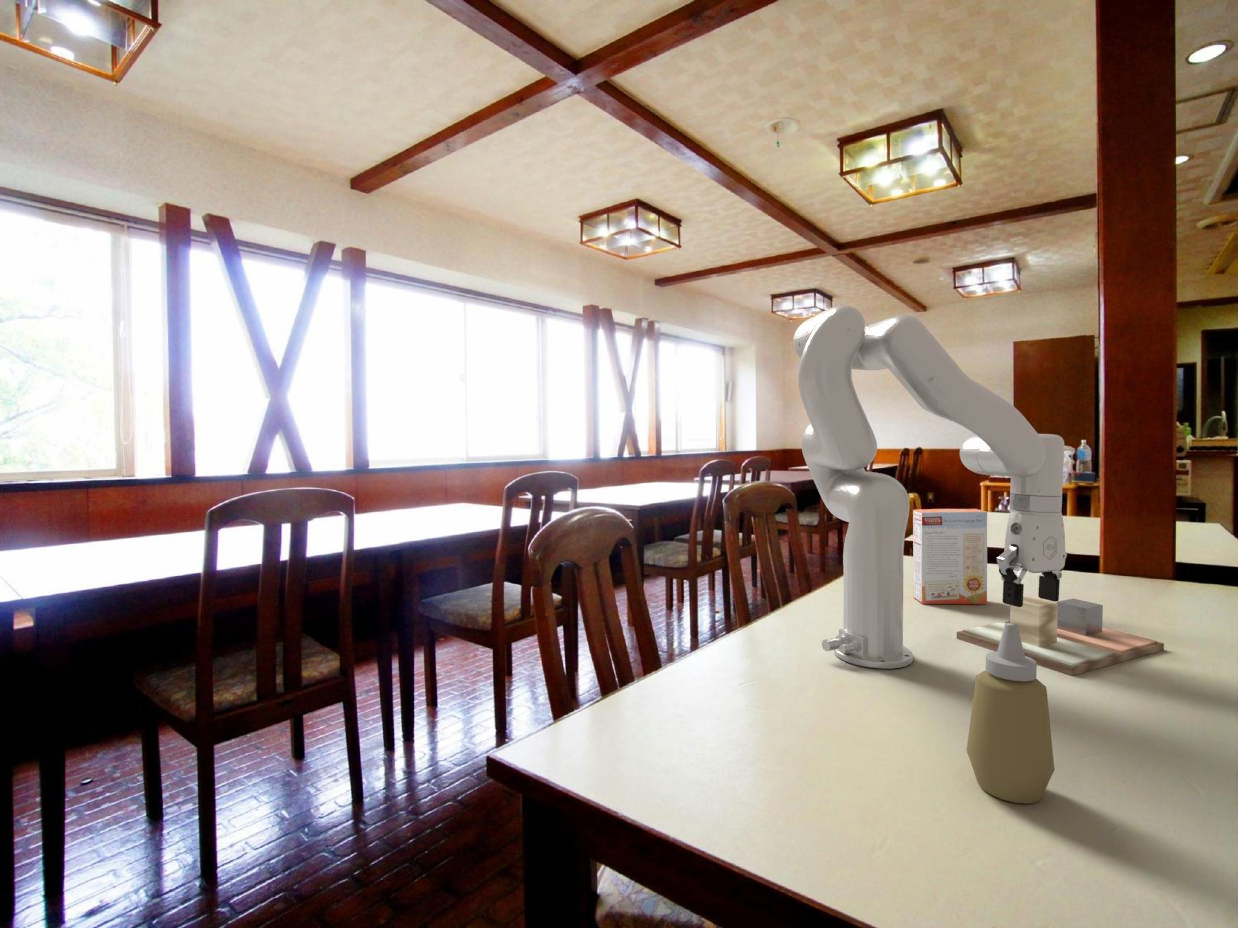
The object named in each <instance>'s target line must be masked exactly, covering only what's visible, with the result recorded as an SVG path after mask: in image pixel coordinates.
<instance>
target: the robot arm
mask: <svg viewBox="0 0 1238 928" xmlns="http://www.w3.org/2000/svg"><path fill="white" fill-rule="evenodd" d="M792 345H793V349H794V352H795V354H797V357H798V358H799V359H800V362H799V366H798V374H797V383H798V390H799V391H798V392H799V395H800V398H801V402H802V404H803V407H804V409H805V412H806V415H807V417H808V420H809V422H810V423H809V424H808V425H807V426H806V428H805V429H804V431H803V434H802V437H801V451H802V455H803V458H804V461H805V464H806V466H807V468H808V471H809V472H810V475H811V477H812V480H813V483H814V484H815V486H816V489H817V491H818V493H819V495H820V497H821V499H822V502H823V503H824V505H825V507H826V508H827V510H828V511H829V512H830V513H831V515H833V516H834V517H836V518H838V519H839V520H841V521H844V522H847V523H848V525H847V530H846V535H845V538H844V539H845V540H844V544H843V554H842V559H843V561H842V565H843V600H842V601H843V607H842V608H843V614H842V615H843V618H842V619H843V620H842V622H843V625H842V627H843V628H840V629H838V635H836V636H835V637H832V638H826V639H823V640H822V641H821V647H822V649H823V650H824V651H825V652H831V651H833V652H834V654H835V656H836V657H837V658H839V659H841V660H842V661H844V662H846V663H850V664H852V665H855V666H856V665H857V666H860V667H866V668H871V669H887V670H889V669H891V670H892V669H901V668H904V667H907V666H909V665H911V664H912V663H913V661H914V658H913V657H914V654H913V652H912V651H911V649H909V648H907V647H906V646H905V645H904V548H905V538H906V537H905V536H906V531H907V526H908V520H909V516H910V510H911V509H910V508H911V507H910V498H909V495H908V493H907V490H906V488H905V486H903V484H902V483H901V482H900V481H899V480H897V479H896V478H895V477H892V476H891V475H888V474H885V473H881V472H880V473H879V472H873V471H866V469H865V468H866V467H867V466H869V465H870V464H872V462H873V460H874V459H875V457H876V456H877V454H878V453H877V451H878V442H877V439H876V437H875V433H874V430H873V429H872V427H871V424H870V422H869V419H868V418H867V415H866V412H865V411H864V408H863V406H862V404H861V401H860V399H859V397H858V394H857V392H856V388H855V385H854V382H853V378H852V377H853V376H852V374H853V373H852V370H858V371H859V370H860V371H880V370H887V369H888V370H889V371H890V372H891V373H892V375H893V376H894V377H895V378H896V379H897V381H899V383H900V384H901V385H902V386H903V387H904V389H905V390H906V391H907V392H908V393H909V394H910V396H911V397H912V398H913V400H915V401H916V403H917V404H918V405H919V407H921V408H922V410H924V411H927V412H928V413H930V414H933V415H935V416H937V417H940V418H942V419H945V420H948V421H950V422H953V423H956V424H957V425H960V426H961V427H963V428H965V429H966V430H969V432H972V433H973V435H971V436H969V437H968V438H966V440H964V442H962V444H961V446H960V449H959V458H960V460H961V463H962V464H963V465H964V467H965V468H967V470H969V471H971V472H973V473H975V474H979V475H985V476H994V477H995V476H996V477H997V476H998V477H1008V478H1010V485H1009V486H1010V488H1009V489H1010V490H1009V491H1010V492H1009V515H1008V520H1007V525H1006V532H1005V538H1004V551H1003V552H1002V553H1001V554H999V556H997V557H996V562H997V565H998V572H999V575H1001V577H1000V578H1001V581H1002V583H1003V584H1002V586H1003V587H1002V603H1003V604H1005V605H1008V606H1010V605H1012V606H1016V607H1022V606H1023V597H1024V588H1025V585H1024V583H1022V581H1023V579H1024V578H1025V576H1026V574H1027V572H1028V573H1031V574H1040V573H1041V574H1042V575H1039V576H1038V598H1039V599H1043V600H1047V601H1052V602H1056V603H1057V602H1058V601H1060V600H1059V599H1060V584H1061V583H1060V579H1062V577H1063V574H1062V571H1063V569H1064V568H1065V565H1066V559H1067V557H1068V553H1067V551H1066V536H1065V533H1066V532H1065V523H1064V517H1063V513H1062V507H1063V505H1062V504H1063V485H1064V484H1063V483H1064V467H1065V466H1064V465H1065V464H1064V463H1065V440H1064V439H1063V437H1062V436H1060V435H1059V434H1054V433H1053V434H1052V433H1051V434H1050V433H1038V432H1037V431H1036V430H1035V428H1034V427H1033V426H1032V425H1031V423H1030V422H1029V421H1028V420H1027V419H1026V417H1025V416H1024V415H1023V414H1022V413H1021V412H1020V411H1019V410H1018V409H1017V408H1016V406H1014V405H1013V404H1011V403H1010V402H1009V401H1007V400H1006V399H1004V398H1003V397H1001V396H999V395H998V394H996V393H995V392H993V391H991V390H990V389H989V388H987V387H986V386H984V385H982V384H981V383H979V382H977V381H975V380H973V378H970V377H969V376H968V375H967V374H966V373H965V372H964V371H963V370H962V369H961V367H960V366H959V365H958V364H957V362H956V361H955V360H954V359H953V358H952V357H951V356H950V354H949V353H948V352H947V350H946V349H945V348H944V347H943V346H942V344H941V343H940V342H939V341H938V340H937V339H936V338H935V336H934V335H933V334H932V333H931V331H930V330H929V329H928V328H927V326H926V325H925V324H924V323H923V322H922V321H921V320H919V318H916V317H914V315H913V316H912V315H909V314H901V315H895V316H892V317H888V318H885V319H882V320H880V321H878V322H877V321H876V322H874V323H866V321H865V318H864V315H863V314H862V313H861V312H860V311H859V310H858V309H857V308H856V307H853V306H851V305H845V304H844V305H836V306H832V307H830V308H827V309H825V310H823V311H821V312H819V313H817V314H816V315H813V316H812V317H810V318H808V319H806V320H805V321H803V322H802V323H801V324H800V325H799V326H798V327H797V329H796V331H795V333H794V335H793V344H792ZM1015 572H1017V573H1015Z"/></svg>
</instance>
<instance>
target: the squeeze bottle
mask: <svg viewBox="0 0 1238 928" xmlns="http://www.w3.org/2000/svg"><path fill="white" fill-rule="evenodd" d="M1037 666H1038V665H1037V664H1036V661H1035V660H1033V659H1032V658H1030V657H1027V656H1025V655H1024V651H1023V646H1022V642H1021V638H1020V633H1019V629H1018V625H1016V624H1012V623H1006V624H1005V625H1004V629H1003V633H1002V636H1001V640H1000V644H999V647H998V651H990V652H988V653H986V654H985V670H983V671H981V672H979V673H978V674H976V676H975V681H974V683H975V685H974V691H973V698H972V705H971V706H972V707H971V715H970V722H969V728H968V736H967V743H966V744H967V745H966V753H967V756H968V758H969V763H970V764H971V765H970V766H971V767H972V770H973V772H974V777H975V779H976V782H977V784H978V785H979V786H980V788H981V789H982V790H984V792H987V793H988V794H989V795H991V796H993V797H996V798H998V799H1000V800H1003V801H1008V802H1011V803H1015V804H1016V803H1017V804H1027V805H1028V804H1032V803H1037V802H1039V800H1041V799H1042V797H1043V795H1044V794H1045V791H1046V790H1047V789H1046V788H1047V787H1048V784H1049V783H1050V780H1051V778H1052V777H1053V775H1054V772H1055V762H1054V752H1053V740H1052V732H1051V720H1050V719H1051V718H1050V712H1049V709H1050V708H1049V702H1048V701H1049V700H1048V690H1047V686H1046V685H1045V684H1044V683H1043V682H1041V680H1039V679H1037V670H1038V669H1037V668H1038V667H1037Z"/></svg>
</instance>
